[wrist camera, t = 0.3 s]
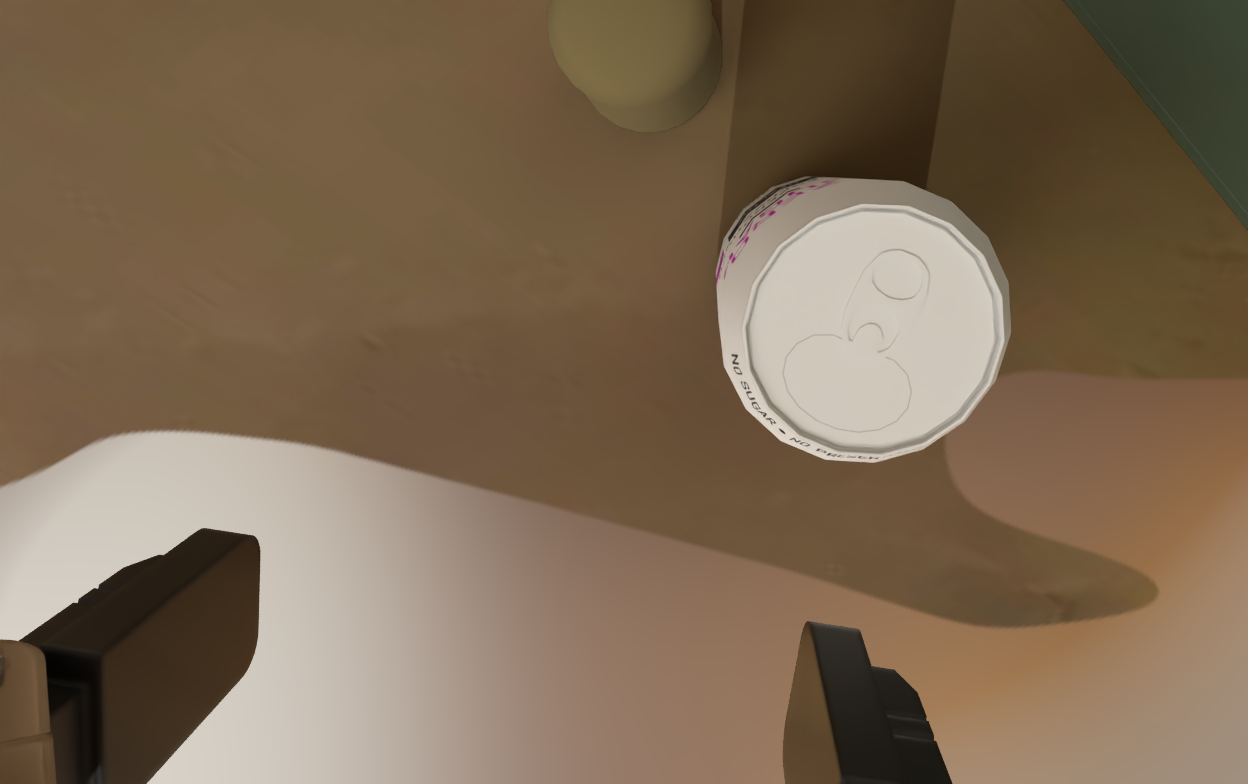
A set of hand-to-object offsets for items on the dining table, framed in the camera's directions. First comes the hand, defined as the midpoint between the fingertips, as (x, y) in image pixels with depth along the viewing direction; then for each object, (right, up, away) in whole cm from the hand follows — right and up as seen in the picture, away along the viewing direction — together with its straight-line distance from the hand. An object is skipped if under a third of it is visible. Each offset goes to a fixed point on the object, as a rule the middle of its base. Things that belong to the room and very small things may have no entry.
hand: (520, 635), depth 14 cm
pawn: (+3, +17, +25) cm, 31 cm away
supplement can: (+10, +9, +27) cm, 30 cm away
